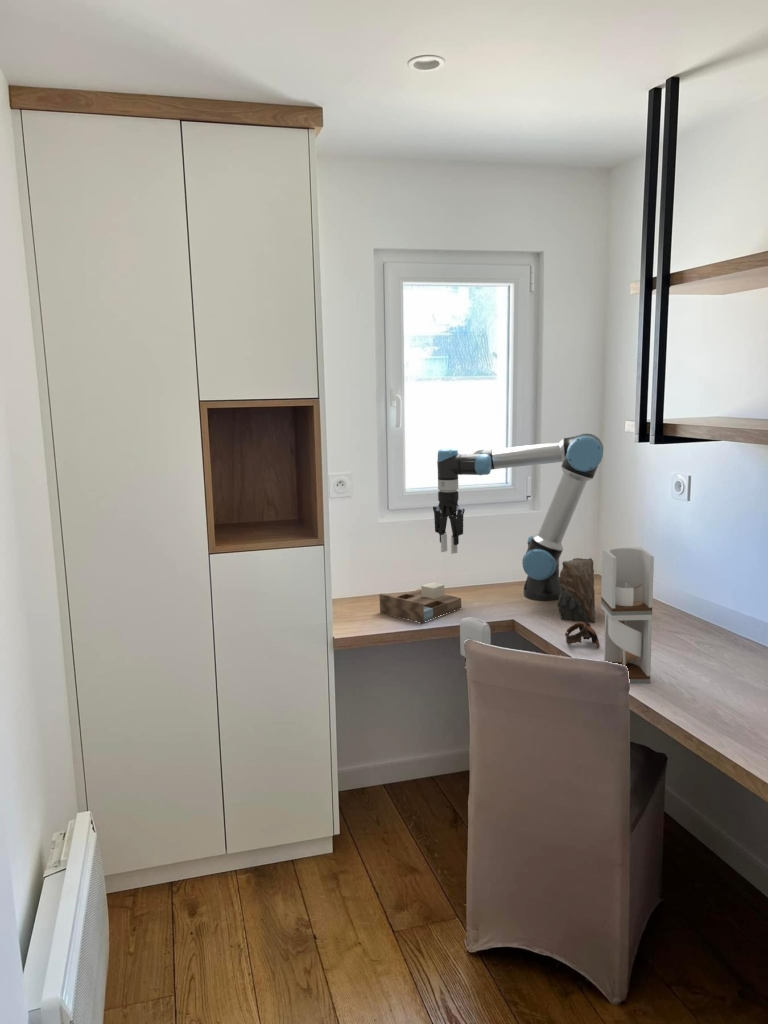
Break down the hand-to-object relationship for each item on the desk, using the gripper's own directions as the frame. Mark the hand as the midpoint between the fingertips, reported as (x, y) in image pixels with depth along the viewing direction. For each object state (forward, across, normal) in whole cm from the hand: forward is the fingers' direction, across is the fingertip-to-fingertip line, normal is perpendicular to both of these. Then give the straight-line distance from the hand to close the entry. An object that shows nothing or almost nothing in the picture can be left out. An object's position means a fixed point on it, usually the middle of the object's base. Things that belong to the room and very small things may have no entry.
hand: (449, 552), depth 284 cm
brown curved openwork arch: (+19, +63, -13) cm, 67 cm away
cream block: (+15, 0, -10) cm, 18 cm away
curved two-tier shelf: (+19, +84, -28) cm, 91 cm away
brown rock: (+19, +49, +10) cm, 53 cm away
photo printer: (+19, +44, -43) cm, 64 cm away
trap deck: (+19, 0, -17) cm, 25 cm away
